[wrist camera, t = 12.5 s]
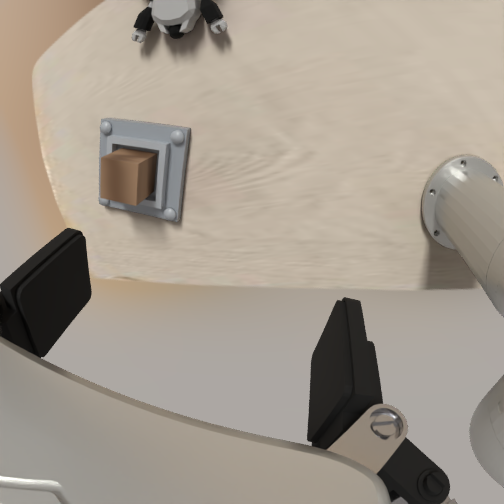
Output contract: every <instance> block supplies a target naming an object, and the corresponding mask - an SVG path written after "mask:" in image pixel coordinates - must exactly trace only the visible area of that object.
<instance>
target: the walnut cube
mask: <svg viewBox="0 0 504 504" xmlns="http://www.w3.org/2000/svg"><path fill="white" fill-rule="evenodd" d="M156 163H157V153H152V152H146V151H140V150H133V149H127V148H121V149H119V150H116V151H114V152H112V153H110V154H108V155H105V156H103V157H101V172H100V198H103V199H108V200H112V201H116V202H121V203H125V204H130V205H134V206H137V205H138V204H139V203H140V202H142V201H143V200H144V199H145V198H147V197H148V196H149V195H150V194H152V193H153V192H154V187H155V174H156Z"/></svg>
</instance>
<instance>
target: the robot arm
mask: <svg viewBox="0 0 504 504" xmlns="http://www.w3.org/2000/svg"><path fill="white" fill-rule="evenodd" d="M461 161H462V163H461ZM431 189H432V191H431V192H430V190H431ZM422 217H423V220H424V223H425V226H426V228H427V230H428V232H429V233H430V235H431V236H432V237H433V238H434V239H435V240H436V241H437V242H438V243H439V244H441V245H442V246H444V247H446V248H449V249H454V250H457V251H458V253H459V254H460V255H461V257H462V258H463V260H464V261H465V262H466V264H467V265H468V267H469V268H470V270H471V271H472V273H473V274H474V276H475V277H476V279H477V280H478V282H479V283H480V285H481V286H482V288H483V289H484V291H485V292H486V294H487V296H488V297H489V299H490V300H491V301H492V303H493V305H494V306H495V308H496V309H497V311H498V312H499V313H500V314H501V315H502V316H503V317H504V186H503V183H502V180H501V177H500V175H499V174H498V172H497V171H496V169H495V168H494V167H493V166H492V165H491V164H490V163H488V162H487V161H485V160H483V159H481V158H479V157H477V156H473V155H460V156H456V157H453V158H451V159H449V160H447V161H445V162H444V163H443V164H441V165H440V166H439V167H438V168H437V169H436V170H435V171H434V172H433V174H432V175H431V177H430V179H429V180H428V182H427V184H426V187H425V189H424V193H423V197H422ZM0 288H1V292H0V504H457V502H456V501H455V499H452V500H450V498H449V497H448V494H449V490H450V484H449V479H448V477H447V475H446V474H445V473H444V471H443V470H442V469H440V468H439V467H438V466H437V465H436V464H435V463H434V462H432V461H431V460H430V459H429V458H428V457H427V456H426V455H425V454H424V453H423V452H421V451H420V450H419V449H418V448H417V447H416V446H415V445H414V444H413V443H412V442H410V441H409V440H408V439H407V438H406V435H407V431H408V425H407V421H406V419H405V417H404V415H403V414H402V413H401V412H400V411H399V410H398V409H397V408H395V407H393V406H391V405H387V404H383V399H382V392H381V385H380V378H379V371H378V365H377V358H376V352H375V346H374V344H373V342H370V341H367V337H366V332H365V325H364V319H363V313H362V307H361V302H360V301H358V300H354V299H350V298H346V297H344V298H343V299H342V301H340V300H337V302H336V304H335V306H334V308H333V310H332V312H331V315H330V317H329V320H328V322H327V324H326V326H325V328H324V331H323V333H322V335H321V337H320V339H319V342H318V344H317V346H316V348H315V350H314V352H313V355H312V360H311V380H310V400H309V418H308V433H307V440H308V441H310V442H312V446H309V445H304V444H299V443H295V442H290V441H285V440H280V439H275V438H270V437H265V436H260V435H256V434H252V433H248V432H243V431H239V430H235V429H231V428H227V427H223V426H219V425H215V424H211V423H207V422H204V421H200V420H197V419H193V418H190V417H187V416H183V415H180V414H177V413H173V412H170V411H167V410H164V409H161V408H158V407H155V406H152V405H150V404H146V403H144V402H141V401H138V400H135V399H133V398H130V397H127V396H125V395H122V394H120V393H117V392H114V391H112V390H109V389H107V388H104V387H102V386H100V385H97V384H95V383H93V382H90V381H88V380H85V379H83V378H81V377H79V376H77V375H75V374H72V373H70V372H68V371H66V370H64V369H62V368H59V367H57V366H55V365H53V364H51V363H49V362H47V361H45V360H43V359H41V357H44V356H45V355H46V354H47V353H48V352H49V350H50V349H51V348H52V346H53V345H54V344H55V342H56V341H57V340H58V339H59V337H60V336H61V335H62V334H63V332H64V331H65V330H66V328H67V327H68V326H69V325H70V323H71V322H72V321H73V320H74V318H75V317H76V316H77V314H78V313H79V312H80V311H81V310H82V308H83V307H84V306H85V305H86V304H87V303H88V301H89V300H90V298H91V284H90V277H89V268H88V259H87V250H86V239H85V237H84V236H83V234H82V232H81V231H79V230H75V229H71V228H67V229H65V230H64V231H63V232H61V233H60V234H59V235H58V236H56V237H55V238H54V239H52V240H51V241H50V242H49V243H48V244H46V245H45V246H44V247H43V248H41V249H40V250H39V251H38V252H36V253H35V254H34V255H33V256H32V257H30V258H29V259H28V260H27V261H26V262H25V263H24V264H22V265H21V266H20V267H19V268H18V269H17V270H15V271H14V272H13V273H12V274H11V275H10V276H9V277H8V278H6V279H5V280H4V281H3V282H2V283H1V284H0ZM470 442H471V446H472V449H473V451H474V454H475V456H476V458H477V460H478V461H479V463H480V464H481V466H482V467H483V468H484V470H485V471H486V472H487V473H488V474H489V475H490V476H491V477H492V478H493V479H494V480H495V481H496V482H497V483H499V484H500V485H501V486H502V487H503V488H504V375H503V376H502V377H501V378H500V380H499V381H498V382H497V383H496V384H495V385H494V386H493V388H492V389H491V390H490V391H489V392H488V393H487V395H486V396H485V397H484V398H483V399H482V401H481V402H480V403H479V405H478V407H477V408H476V410H475V412H474V414H473V416H472V419H471V423H470Z"/></svg>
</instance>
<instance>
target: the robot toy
mask: <svg viewBox="0 0 504 504" xmlns="http://www.w3.org/2000/svg"><path fill="white" fill-rule="evenodd" d="M201 13H202V15H203V17H204V18H205V20H206V22H207V24H208V23H211V28H210V29H211V30H212V32H213V33H215V34H219V33H221V32H220V31H219V29H218V26H220V27H221V29H222V31H225V30H226V29H227V23H226V21H224V20H223V19H221V18H223V15H222V13H221V11H220V9H219V8H218V6H217V4H216V3H214V2H213V1H211V0H150V3H149V5H148V7H147V8H145V9H144V10H143V11H142V12H141V13H140V14H139V15H138V17H137V20H136V22H135V25H134V28H138V29H137V30H136V31H135V32H134V33H133V34H132V40H133V41H137V39H138V41H137V42H139V43H141V42H143V41H144V39H145V38H146V31H150V30H151V28H152V25H153V23H154V21H155V22H156V23H157V24H158V27H159V29H160V31H161V32H164V33H167V34H170V36H171V37H172V38H174V39H178V38H181V37H182V36H183V35H184V33H188V32H189V31H191V30H193V28H194V25H195V23H196V21H197V19H198V18H199V17H200V15H201ZM138 37H139V38H138Z"/></svg>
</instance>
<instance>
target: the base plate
mask: <svg viewBox="0 0 504 504" xmlns="http://www.w3.org/2000/svg"><path fill="white" fill-rule="evenodd" d="M190 130H191V128H187V127H180V126H173V125H166V124H159V123H151V122H142V121H134V120H124V119H114V118H104V119H101V125H100V131H101V132H100V157H99V204H101V205H103V206H110V207H114V208H119V209H123V210H127V211H132V212H136V213H140V214H145V215H149V216H154V217H158V218H162V219H166V220H169V221H175V222H178V221H179V219H180V217H181V207H182V197H183V187H184V178H185V169H186V161H187V153H188V145H189V138H190ZM121 148H127V149H133V150H140V151H146V152H152V153H157V163H156V174H155V187H154V192H153V193H152V194H150V195H149V196H148V197H147V198H145V199H144V200H143V201H142V202H140V203H139V204H138V205H137V206H134V205H130V204H125V203H121V202H116V201H112V200H108V199H103V198H100V172H101V157H103V156H105V155H108V154H110V153H112V152H114V151H116V150H119V149H121Z"/></svg>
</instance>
